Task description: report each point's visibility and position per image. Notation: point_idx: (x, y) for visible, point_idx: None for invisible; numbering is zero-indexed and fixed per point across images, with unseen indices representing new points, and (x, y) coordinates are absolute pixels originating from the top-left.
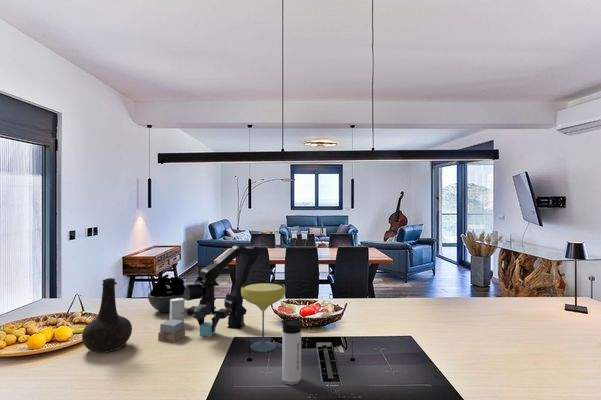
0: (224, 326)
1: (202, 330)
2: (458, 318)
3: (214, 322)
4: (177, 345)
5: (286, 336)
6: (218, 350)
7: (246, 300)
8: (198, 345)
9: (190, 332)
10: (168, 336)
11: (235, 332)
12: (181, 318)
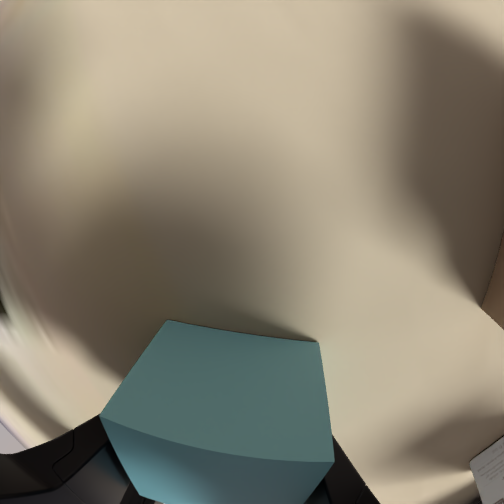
0: None
1: (275, 390)
2: None
3: (34, 455)
4: (441, 6)
5: None
6: (12, 33)
7: None
8: (186, 12)
9: (438, 391)
10: None
11: (53, 395)
12: (493, 480)
